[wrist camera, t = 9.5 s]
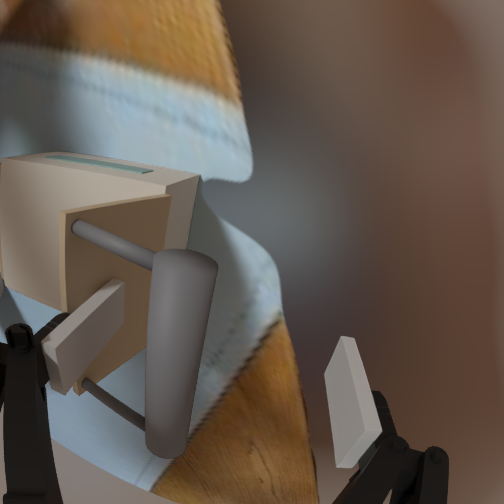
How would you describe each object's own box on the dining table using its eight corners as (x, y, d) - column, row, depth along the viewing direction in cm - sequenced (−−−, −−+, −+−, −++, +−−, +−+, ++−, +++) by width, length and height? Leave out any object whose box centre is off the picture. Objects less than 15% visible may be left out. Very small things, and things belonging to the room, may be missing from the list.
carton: (56, 149, 27) (-3, 156, 18) (200, 173, 27) (166, 184, 18) (51, 254, 31) (1, 284, 22) (179, 293, 31) (148, 342, 22)
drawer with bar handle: (52, 212, 11) (197, 277, 9) (165, 193, 19) (280, 229, 17) (69, 394, 15) (172, 467, 12) (149, 337, 22) (237, 382, 20)
